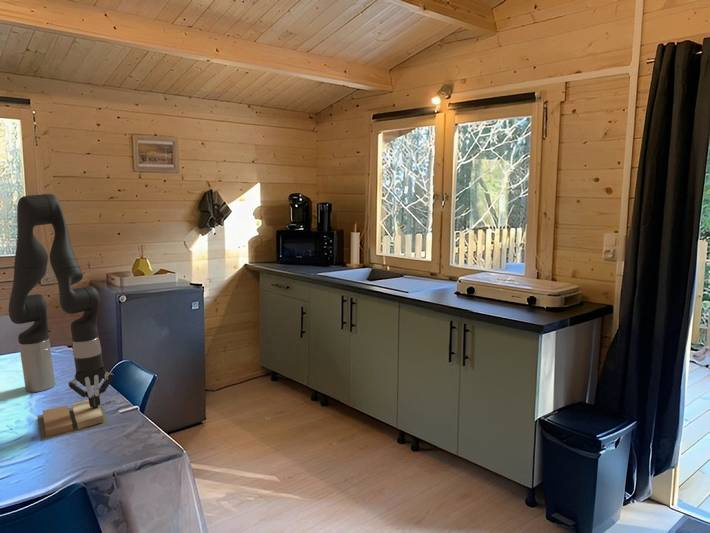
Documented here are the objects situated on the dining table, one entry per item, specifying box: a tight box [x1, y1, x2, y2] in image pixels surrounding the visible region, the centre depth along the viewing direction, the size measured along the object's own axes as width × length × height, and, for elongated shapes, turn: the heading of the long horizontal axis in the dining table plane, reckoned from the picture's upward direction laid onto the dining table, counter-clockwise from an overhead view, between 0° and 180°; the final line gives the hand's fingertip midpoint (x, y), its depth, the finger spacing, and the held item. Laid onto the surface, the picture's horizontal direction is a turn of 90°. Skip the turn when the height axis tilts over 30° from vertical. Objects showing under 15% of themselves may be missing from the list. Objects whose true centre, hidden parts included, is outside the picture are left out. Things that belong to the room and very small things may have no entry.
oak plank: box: [71, 399, 104, 429], centre depth 170 cm, size 16×7×2 cm, turn 32°
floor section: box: [37, 401, 111, 442], centre depth 168 cm, size 20×18×3 cm
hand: (95, 407), depth 171 cm, fingers closed
